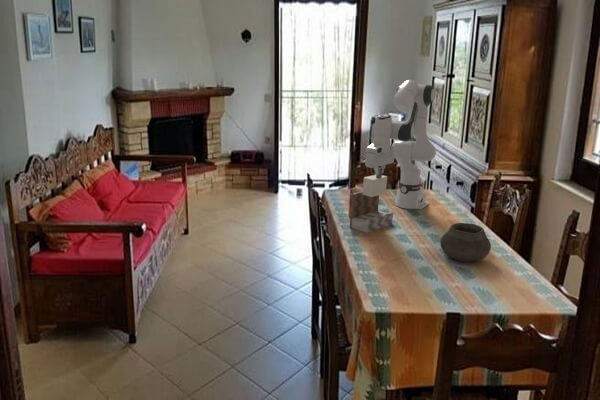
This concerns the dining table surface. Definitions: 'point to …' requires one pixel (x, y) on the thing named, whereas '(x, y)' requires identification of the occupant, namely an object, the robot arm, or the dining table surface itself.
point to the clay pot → (465, 242)
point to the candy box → (352, 190)
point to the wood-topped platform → (367, 213)
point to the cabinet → (375, 184)
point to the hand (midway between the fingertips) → (379, 173)
